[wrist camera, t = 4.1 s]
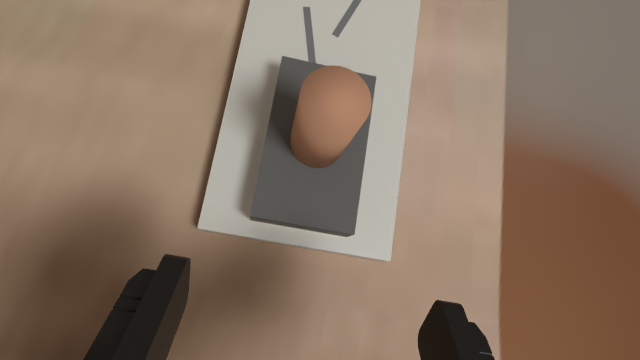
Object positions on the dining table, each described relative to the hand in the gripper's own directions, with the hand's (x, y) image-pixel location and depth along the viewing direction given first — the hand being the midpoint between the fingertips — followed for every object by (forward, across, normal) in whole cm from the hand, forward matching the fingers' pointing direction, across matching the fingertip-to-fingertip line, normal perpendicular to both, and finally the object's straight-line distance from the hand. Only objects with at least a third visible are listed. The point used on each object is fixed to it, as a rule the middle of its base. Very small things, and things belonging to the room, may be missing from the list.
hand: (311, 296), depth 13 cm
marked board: (+20, 0, -2) cm, 20 cm away
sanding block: (+14, 0, +2) cm, 14 cm away
